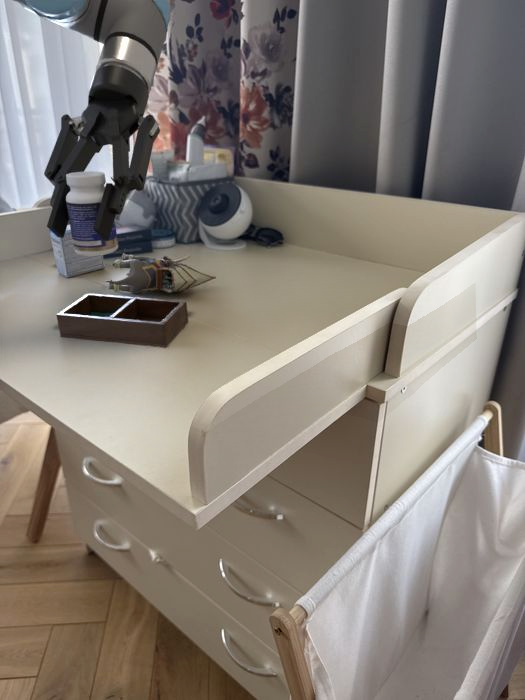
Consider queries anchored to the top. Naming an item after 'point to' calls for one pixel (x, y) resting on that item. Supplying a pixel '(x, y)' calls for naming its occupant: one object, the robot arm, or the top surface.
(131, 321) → the tray
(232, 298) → the top surface
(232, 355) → the top surface
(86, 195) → the pill bottle
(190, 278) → the figurine
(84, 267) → the medicine box
